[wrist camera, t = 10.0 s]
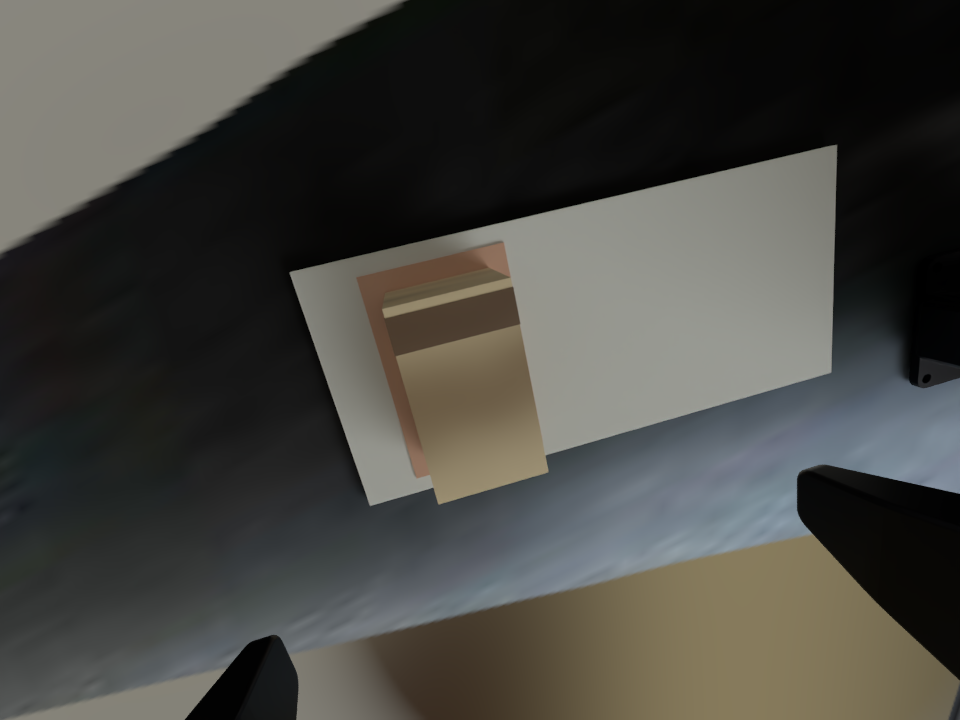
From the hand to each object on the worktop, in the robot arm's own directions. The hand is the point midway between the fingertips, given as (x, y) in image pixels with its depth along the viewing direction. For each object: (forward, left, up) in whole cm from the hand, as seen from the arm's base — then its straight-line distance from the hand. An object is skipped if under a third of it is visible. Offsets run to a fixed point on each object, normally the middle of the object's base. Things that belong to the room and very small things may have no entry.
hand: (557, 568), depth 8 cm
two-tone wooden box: (0, 0, -11) cm, 11 cm away
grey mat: (-6, 0, -12) cm, 13 cm away
